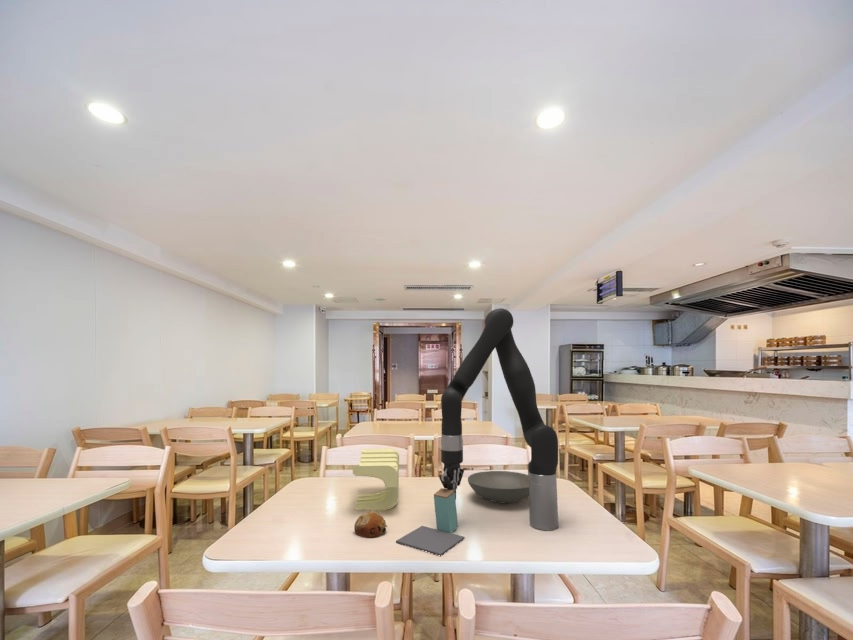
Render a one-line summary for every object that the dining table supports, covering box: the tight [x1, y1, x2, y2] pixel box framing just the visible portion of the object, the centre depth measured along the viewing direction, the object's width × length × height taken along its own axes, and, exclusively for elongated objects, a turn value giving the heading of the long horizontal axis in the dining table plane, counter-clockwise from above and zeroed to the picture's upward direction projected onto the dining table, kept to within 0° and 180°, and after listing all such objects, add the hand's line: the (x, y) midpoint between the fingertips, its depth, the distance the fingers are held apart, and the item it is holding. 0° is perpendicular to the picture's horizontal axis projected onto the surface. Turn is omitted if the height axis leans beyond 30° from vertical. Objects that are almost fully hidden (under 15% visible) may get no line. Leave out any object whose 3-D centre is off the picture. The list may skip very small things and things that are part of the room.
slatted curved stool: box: [352, 448, 400, 510], centre depth 160 cm, size 30×16×18 cm, turn 3°
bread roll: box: [353, 510, 388, 539], centre depth 133 cm, size 10×10×8 cm
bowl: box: [467, 470, 529, 504], centre depth 163 cm, size 27×28×8 cm
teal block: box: [433, 487, 459, 534], centre depth 133 cm, size 5×5×12 cm
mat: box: [395, 525, 466, 557], centre depth 125 cm, size 14×16×1 cm
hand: (452, 500), depth 137 cm, fingers closed
